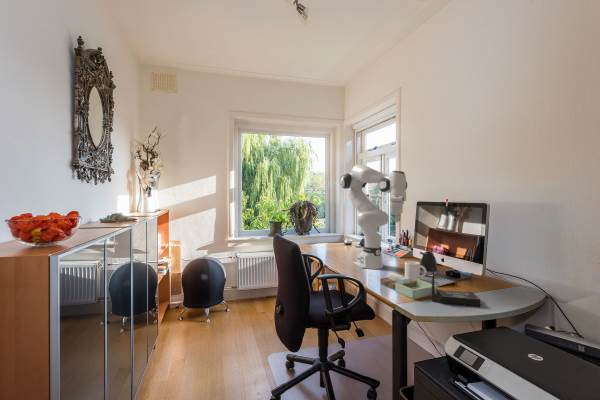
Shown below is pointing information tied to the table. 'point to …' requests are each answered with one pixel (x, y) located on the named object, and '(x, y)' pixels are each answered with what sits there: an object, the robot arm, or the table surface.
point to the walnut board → (391, 283)
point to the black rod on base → (455, 297)
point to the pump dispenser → (428, 263)
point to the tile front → (402, 280)
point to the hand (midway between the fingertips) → (397, 221)
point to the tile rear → (394, 276)
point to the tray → (416, 290)
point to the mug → (413, 270)
